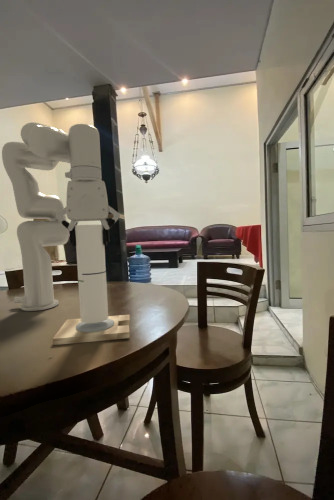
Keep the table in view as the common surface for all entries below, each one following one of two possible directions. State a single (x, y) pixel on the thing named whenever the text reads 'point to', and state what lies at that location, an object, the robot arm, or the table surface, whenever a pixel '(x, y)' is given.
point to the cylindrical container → (91, 273)
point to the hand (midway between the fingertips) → (90, 245)
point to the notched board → (93, 330)
